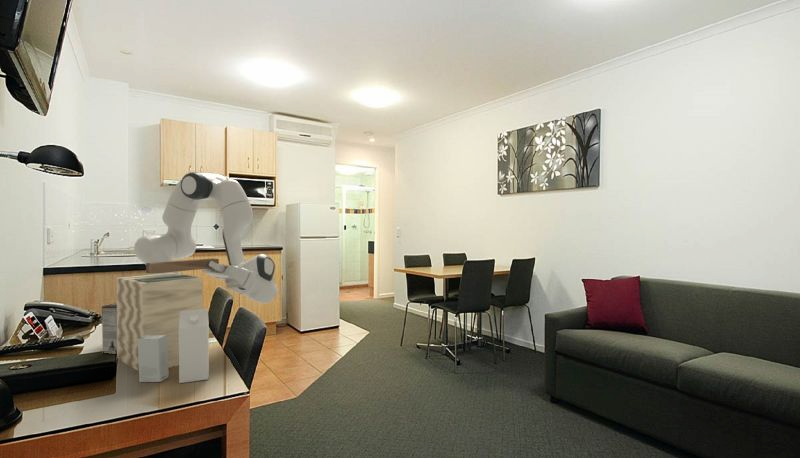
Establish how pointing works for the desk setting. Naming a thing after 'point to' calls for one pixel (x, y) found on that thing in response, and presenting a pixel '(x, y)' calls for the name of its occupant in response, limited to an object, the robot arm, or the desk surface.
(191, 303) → the birch stand
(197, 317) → the milk carton
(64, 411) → the desk surface
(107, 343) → the coffee box
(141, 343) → the skincare box
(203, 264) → the walnut bar
